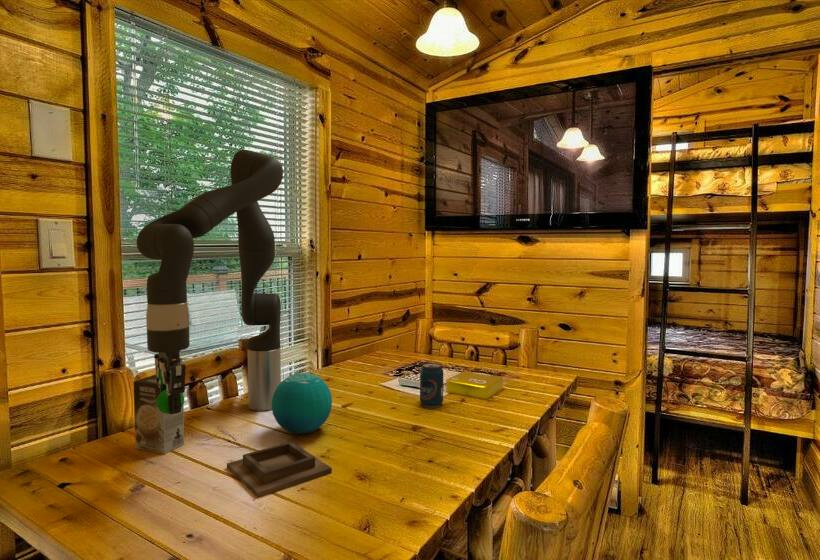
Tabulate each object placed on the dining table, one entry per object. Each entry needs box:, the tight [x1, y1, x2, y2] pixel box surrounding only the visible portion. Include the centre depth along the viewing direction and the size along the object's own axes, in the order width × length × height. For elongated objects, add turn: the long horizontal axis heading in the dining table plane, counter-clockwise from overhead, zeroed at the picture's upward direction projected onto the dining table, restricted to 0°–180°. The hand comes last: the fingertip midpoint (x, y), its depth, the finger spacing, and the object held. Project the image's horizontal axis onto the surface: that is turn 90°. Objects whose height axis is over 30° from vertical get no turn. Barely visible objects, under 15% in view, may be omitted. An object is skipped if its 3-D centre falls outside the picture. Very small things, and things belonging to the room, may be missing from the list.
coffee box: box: [133, 374, 185, 455], centre depth 114 cm, size 9×6×16 cm
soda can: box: [419, 362, 444, 408], centre depth 145 cm, size 7×7×12 cm
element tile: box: [445, 370, 504, 400], centre depth 161 cm, size 15×15×5 cm
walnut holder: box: [226, 441, 333, 498], centre depth 102 cm, size 16×16×3 cm
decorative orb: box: [271, 372, 333, 435], centre depth 123 cm, size 15×15×15 cm
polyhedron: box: [156, 389, 185, 414], centre depth 97 cm, size 5×5×5 cm
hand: (170, 408), depth 98 cm, fingers closed on polyhedron, 5 cm apart
